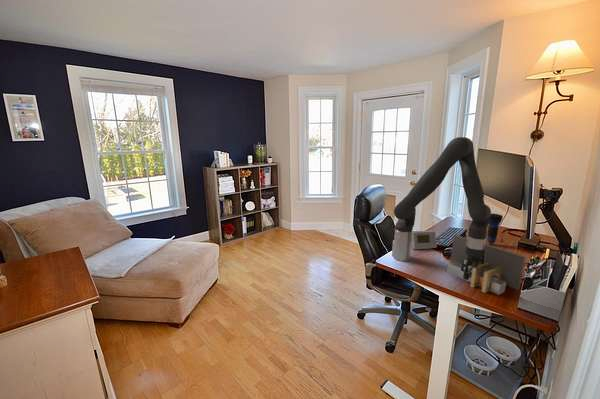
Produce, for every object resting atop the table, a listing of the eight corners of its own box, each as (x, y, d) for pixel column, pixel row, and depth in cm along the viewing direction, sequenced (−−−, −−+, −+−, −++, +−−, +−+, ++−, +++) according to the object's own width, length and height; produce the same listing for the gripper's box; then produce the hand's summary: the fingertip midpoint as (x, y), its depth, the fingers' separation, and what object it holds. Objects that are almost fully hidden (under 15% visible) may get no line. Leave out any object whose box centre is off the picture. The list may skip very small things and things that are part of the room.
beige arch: (470, 286, 123) (472, 267, 121) (484, 279, 128) (487, 261, 126) (473, 287, 122) (476, 268, 119) (488, 280, 127) (490, 262, 125)
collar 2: (481, 291, 118) (484, 272, 116) (496, 284, 124) (499, 265, 122) (485, 292, 117) (488, 273, 115) (499, 285, 123) (502, 267, 120)
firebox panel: (450, 261, 147) (453, 234, 143) (451, 261, 147) (455, 234, 144) (517, 289, 119) (524, 257, 116) (519, 289, 120) (525, 256, 116)
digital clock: (412, 250, 163) (413, 233, 161) (407, 244, 172) (408, 229, 170) (439, 250, 162) (441, 234, 160) (433, 245, 171) (435, 229, 168)
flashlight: (488, 241, 175) (493, 212, 170) (500, 245, 167) (505, 215, 163) (479, 243, 172) (484, 213, 168) (491, 247, 165) (496, 217, 160)
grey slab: (446, 271, 136) (447, 262, 135) (452, 269, 139) (454, 260, 137) (498, 295, 116) (500, 284, 114) (504, 291, 118) (506, 281, 117)
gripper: (475, 240, 131) (471, 270, 134) (458, 246, 124) (454, 277, 128) (492, 245, 124) (487, 276, 128) (474, 251, 118) (470, 284, 122)
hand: (471, 277), depth 128 cm, fingers open, 8 cm apart
